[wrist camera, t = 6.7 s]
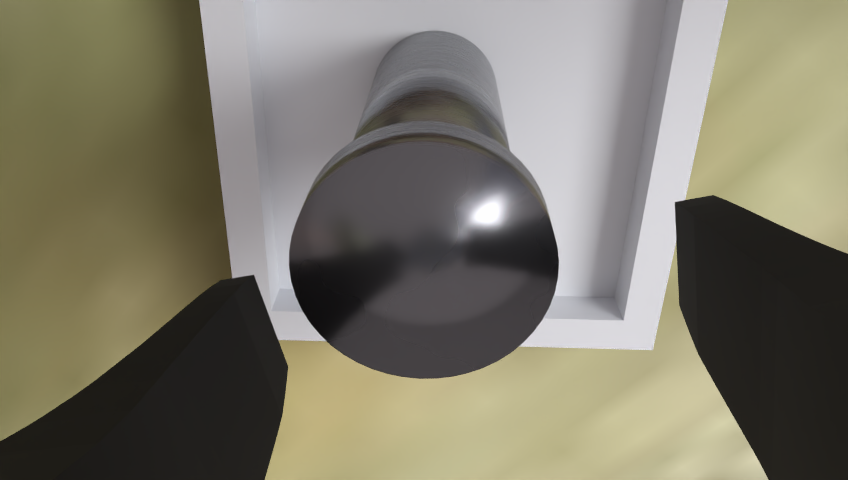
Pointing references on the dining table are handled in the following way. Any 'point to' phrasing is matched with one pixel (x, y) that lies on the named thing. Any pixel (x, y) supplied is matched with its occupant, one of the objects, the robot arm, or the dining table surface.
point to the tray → (524, 121)
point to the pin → (426, 223)
